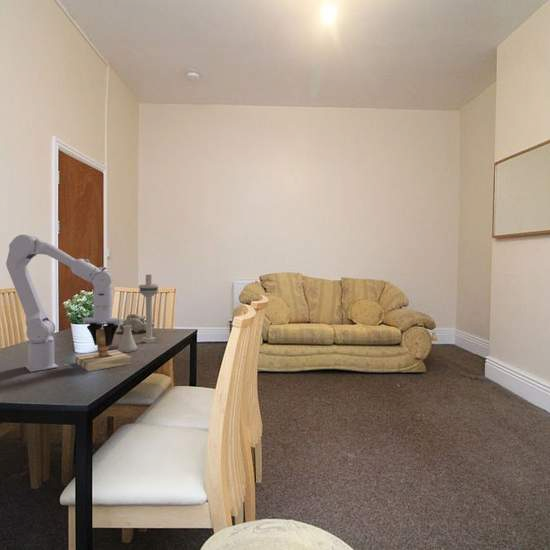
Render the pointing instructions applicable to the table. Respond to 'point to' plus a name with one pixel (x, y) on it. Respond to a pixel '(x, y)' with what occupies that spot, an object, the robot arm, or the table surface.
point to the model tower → (148, 306)
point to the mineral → (135, 322)
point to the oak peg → (101, 342)
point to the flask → (127, 340)
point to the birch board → (102, 360)
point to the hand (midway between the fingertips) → (103, 345)
